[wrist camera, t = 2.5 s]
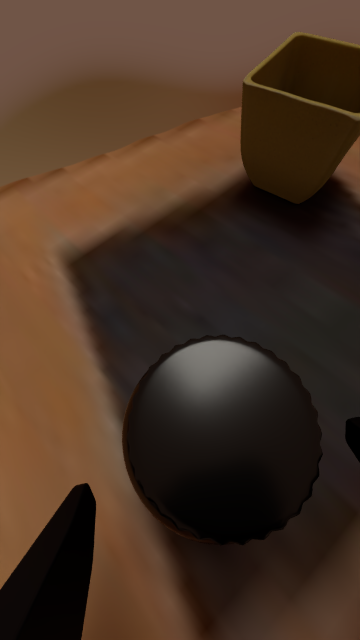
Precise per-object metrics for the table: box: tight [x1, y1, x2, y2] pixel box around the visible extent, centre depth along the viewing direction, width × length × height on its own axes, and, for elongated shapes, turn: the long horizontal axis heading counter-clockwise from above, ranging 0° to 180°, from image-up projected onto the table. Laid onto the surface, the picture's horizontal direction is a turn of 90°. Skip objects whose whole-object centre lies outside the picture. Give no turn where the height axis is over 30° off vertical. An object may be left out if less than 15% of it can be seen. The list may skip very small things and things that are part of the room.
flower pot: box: [241, 32, 360, 204], centre depth 23 cm, size 9×9×9 cm
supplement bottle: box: [122, 335, 323, 546], centre depth 12 cm, size 7×7×12 cm
